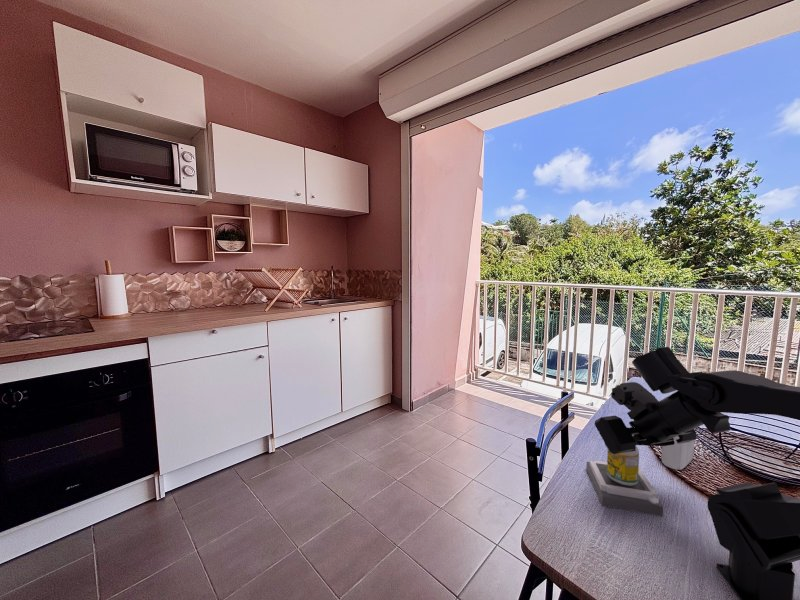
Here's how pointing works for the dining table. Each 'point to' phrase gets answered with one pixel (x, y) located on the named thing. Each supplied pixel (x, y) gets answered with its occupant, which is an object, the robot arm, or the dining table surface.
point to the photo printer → (678, 454)
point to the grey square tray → (624, 491)
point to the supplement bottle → (623, 467)
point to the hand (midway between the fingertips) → (617, 443)
